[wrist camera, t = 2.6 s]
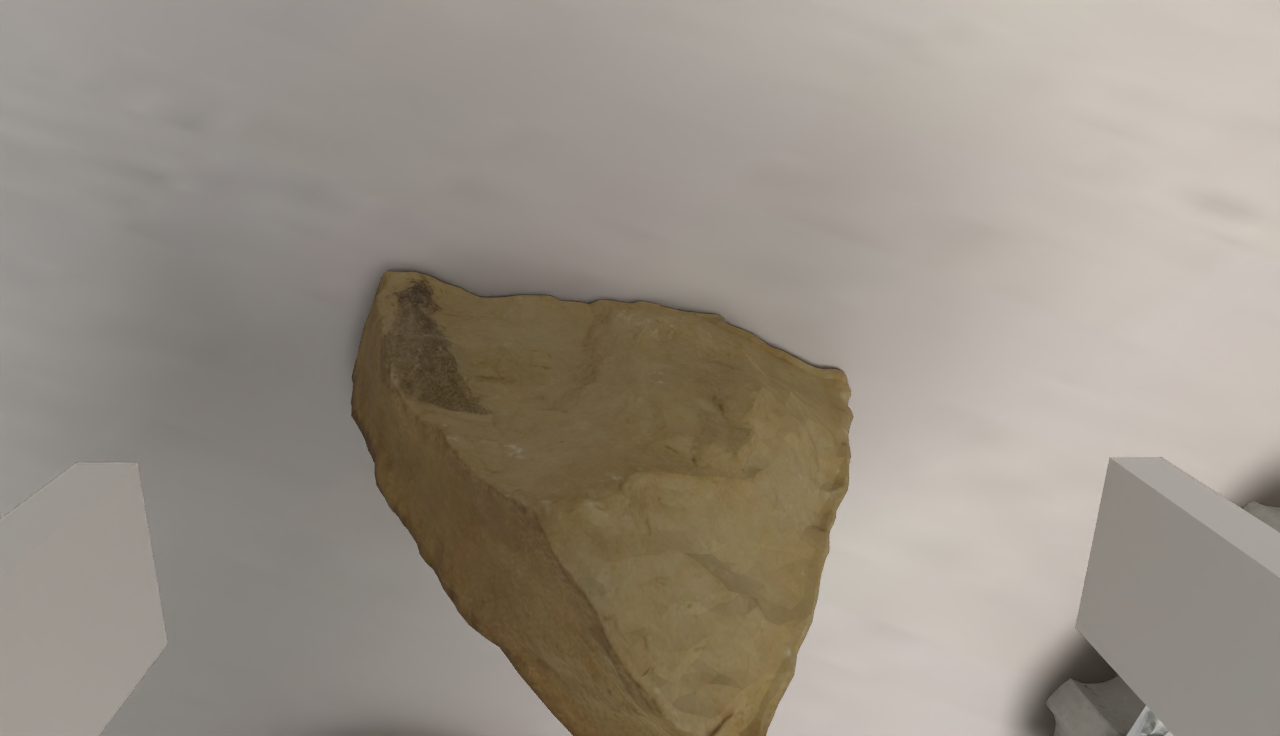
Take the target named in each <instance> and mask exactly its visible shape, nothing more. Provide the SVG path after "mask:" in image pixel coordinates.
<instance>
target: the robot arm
mask: <svg viewBox="0 0 1280 736" xmlns="http://www.w3.org/2000/svg"><path fill="white" fill-rule="evenodd" d="M1075 628H1076V629H1077V630H1078V631H1079V632H1080V633H1081V634H1082V635H1083V636H1084V638H1085V639H1086V640H1087V641H1088V642H1089V643H1090V644H1091V645H1092V646H1093V647H1094V649H1095V650H1096V651H1097V652H1098V653H1099V654H1100V655H1101V656H1102V657H1103V658H1104V660H1105V661H1106V662H1107V663H1108V664H1109V665H1110V666H1111V667H1112V668H1113V669H1114V671H1115V672H1116V673H1117V674H1118V675H1119V676H1120V677H1121V678H1122V679H1123V680H1124V682H1125V683H1126V684H1127V685H1128V686H1129V687H1130V688H1131V689H1132V690H1133V691H1134V693H1135V694H1136V695H1137V696H1138V697H1139V698H1140V699H1141V700H1142V701H1143V702H1144V704H1145V705H1146V706H1147V707H1148V708H1149V709H1150V710H1151V711H1152V712H1153V713H1154V714H1155V716H1156V717H1157V718H1158V719H1159V720H1160V721H1161V722H1162V723H1163V724H1164V725H1165V727H1166V728H1167V729H1168V730H1169V731H1170V732H1171V733H1172V734H1173V735H1174V736H1280V533H1279V532H1278V531H1276V530H1275V529H1273V528H1272V527H1270V526H1269V525H1267V524H1265V523H1264V522H1262V521H1261V520H1259V519H1258V518H1256V517H1254V516H1253V515H1251V514H1250V513H1248V512H1247V511H1245V510H1244V509H1242V508H1240V507H1239V506H1237V505H1236V504H1234V503H1233V502H1231V501H1229V500H1228V499H1226V498H1225V497H1223V496H1222V495H1220V494H1219V493H1217V492H1215V491H1214V490H1212V489H1211V488H1209V487H1208V486H1206V485H1205V484H1203V483H1201V482H1200V481H1198V480H1197V479H1195V478H1194V477H1192V476H1190V475H1189V474H1187V473H1186V472H1184V471H1183V470H1181V469H1180V468H1178V467H1176V466H1175V465H1173V464H1172V463H1170V462H1169V461H1167V460H1165V459H1164V458H1162V457H1126V458H1109V463H1108V468H1107V473H1106V478H1105V483H1104V488H1103V493H1102V498H1101V503H1100V508H1099V513H1098V518H1097V523H1096V528H1095V532H1094V537H1093V542H1092V547H1091V552H1090V557H1089V562H1088V567H1087V572H1086V577H1085V582H1084V587H1083V592H1082V597H1081V602H1080V607H1079V612H1078V617H1077V622H1076V627H1075ZM167 644H168V642H167V636H166V630H165V624H164V618H163V612H162V606H161V600H160V594H159V588H158V582H157V576H156V570H155V564H154V558H153V552H152V546H151V540H150V534H149V528H148V522H147V516H146V510H145V504H144V498H143V492H142V486H141V480H140V474H139V468H138V462H76V463H75V464H74V465H72V466H71V467H70V468H68V469H67V470H66V471H64V472H63V473H61V474H60V475H59V476H57V477H56V478H55V479H53V480H52V481H51V482H49V483H48V484H47V485H45V486H44V487H43V488H41V489H40V490H39V491H37V492H36V493H35V494H33V495H32V496H30V497H29V498H28V499H26V500H25V501H24V502H22V503H21V504H20V505H18V506H17V507H16V508H14V509H13V510H12V511H10V512H9V513H8V514H6V515H5V516H4V517H2V518H1V519H0V736H99V735H100V734H101V733H102V731H103V730H104V729H105V727H106V726H107V725H108V723H109V722H110V721H111V719H112V718H113V717H114V715H115V714H116V713H117V711H118V710H119V709H120V707H121V706H122V705H123V703H124V702H125V701H126V699H127V698H128V696H129V695H130V694H131V692H132V691H133V690H134V688H135V687H136V686H137V684H138V683H139V682H140V680H141V679H142V678H143V676H144V675H145V674H146V672H147V671H148V670H149V668H150V667H151V666H152V664H153V663H154V662H155V660H156V659H157V658H158V656H159V655H160V654H161V652H162V651H163V649H164V648H165V647H166V645H167Z"/></svg>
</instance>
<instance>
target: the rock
mask: <svg viewBox="0 0 1280 736" xmlns="http://www.w3.org/2000/svg"><path fill="white" fill-rule="evenodd" d="M352 381H353V392H352V399H351V405H352V414H351V416H352V417H353V419H354V420H355V422H356V424H357V425H358V427H359V429H360V431H361V432H362V434H363V436H364V438H365V441H366V444H367V448H368V451H369V453H370V454H371V456H372V459H373V461H374V463H375V478H376V485H377V486H378V488H379V490H380V492H381V493H382V495H383V496H384V497H385V499H386V501H387V503H388V505H389V507H390V508H391V510H392V511H393V512H394V513H395V514H396V515H397V516H398V517H399V518H400V520H401V522H402V523H403V525H404V526H405V527H406V528H407V529H408V530H409V532H410V534H411V535H412V537H413V538H414V540H415V541H416V543H417V545H418V549H419V554H420V555H421V556H422V558H423V559H424V560H425V562H426V563H427V564H428V565H429V566H430V567H431V568H433V570H434V571H435V573H436V575H437V576H438V578H439V581H440V583H441V585H442V587H443V589H444V590H445V592H446V593H447V595H448V596H449V597H450V599H451V600H452V602H453V603H454V605H455V606H456V608H457V610H458V612H459V613H460V614H461V616H462V617H463V618H464V619H465V621H466V622H467V623H468V624H469V625H470V626H471V627H472V628H473V629H475V630H476V631H477V632H479V633H480V634H481V635H482V636H484V637H485V638H486V639H488V640H489V641H491V642H492V643H494V644H496V645H497V646H499V647H500V649H501V650H502V651H503V652H504V654H505V655H506V656H507V658H508V659H509V660H510V662H511V663H512V665H513V666H514V668H515V669H516V670H517V672H518V673H519V674H520V676H521V677H522V678H523V679H524V680H525V682H526V683H527V684H528V685H529V686H530V687H531V689H532V690H533V691H534V692H535V693H536V695H537V696H538V697H539V698H540V699H541V701H542V702H543V703H544V704H545V705H546V706H547V708H548V709H549V710H550V711H551V712H552V714H553V715H554V716H555V717H556V718H557V719H558V720H559V721H560V722H561V723H562V724H563V725H564V726H565V727H566V728H567V729H568V731H569V732H570V733H571V734H572V735H573V736H766V733H767V730H768V727H769V725H770V723H771V721H772V719H773V716H774V714H775V711H776V708H777V706H778V704H779V702H780V700H781V698H782V697H783V695H784V693H785V691H786V689H787V687H788V685H789V683H790V681H791V680H792V678H793V676H794V672H795V666H796V658H797V653H798V651H799V648H800V646H801V644H802V642H803V640H804V639H805V636H806V634H807V632H808V630H809V628H810V625H811V623H812V620H813V614H814V609H815V606H816V603H817V598H818V592H819V585H820V578H821V573H822V570H823V567H824V563H825V559H826V557H827V555H828V553H829V533H830V530H831V528H832V526H833V524H834V521H835V518H836V511H837V509H838V507H839V505H840V503H841V501H842V499H843V498H844V496H845V494H846V492H847V490H848V484H849V462H850V458H851V454H850V447H849V439H848V433H849V428H850V424H851V422H852V419H853V414H852V411H851V409H850V408H849V407H848V400H849V398H850V396H851V389H850V387H849V384H848V381H847V378H846V375H845V373H844V372H843V371H841V370H838V369H821V368H816V367H813V366H811V365H809V364H807V363H805V362H804V361H802V360H800V359H798V358H796V357H794V356H792V355H790V354H788V353H786V352H784V351H782V350H779V349H776V348H772V347H771V346H769V345H768V344H766V343H765V342H764V341H762V340H761V339H759V338H758V337H756V336H755V335H754V334H752V333H750V332H747V331H745V330H742V329H740V328H737V327H734V326H731V325H729V324H726V322H725V321H724V318H723V317H722V316H720V315H717V314H702V313H696V312H685V311H680V310H676V309H672V308H669V307H664V306H660V305H658V304H655V303H649V302H643V301H638V302H635V303H624V302H618V301H614V300H597V301H595V302H593V303H590V304H587V303H582V302H575V301H560V300H558V299H556V298H554V297H553V296H551V295H516V296H509V297H492V298H485V297H478V296H476V295H474V294H471V293H469V292H467V291H465V290H463V289H461V288H459V287H456V286H452V285H449V284H446V283H443V282H441V281H439V280H437V279H435V278H433V277H431V276H429V275H425V274H421V273H418V272H407V273H406V272H395V271H388V272H386V273H385V274H384V275H383V276H382V278H381V281H380V284H379V287H378V290H377V293H376V296H375V299H374V302H373V305H372V308H371V311H370V314H369V316H368V318H367V321H366V323H365V326H364V329H363V333H362V337H361V341H360V346H359V351H358V355H357V359H356V361H355V365H354V369H353V374H352Z"/></svg>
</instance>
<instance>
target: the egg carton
mask: <svg viewBox="0 0 1280 736" xmlns="http://www.w3.org/2000/svg"><path fill="white" fill-rule="evenodd" d="M1243 509H1244V510H1245V511H1247V512H1248V513H1250V514H1251V515H1253V516H1254V517H1256V518H1258V519H1259V520H1261V521H1262V522H1264V523H1265V524H1267V525H1269V526H1270V527H1272V528H1273V529H1275V530H1276V531H1278V532H1279V533H1280V507H1269V506H1265V505H1262V504H1259V503H1257V502H1256V501H1251V502H1249V503H1248V504H1247V505H1246V506H1245V507H1244V508H1243ZM1046 706H1047V707H1048V708H1049V709H1050V710H1051V711H1052V713H1053V715H1054V718H1055V724H1056V727H1055V731H1054V735H1053V736H1174V735H1173V734H1172V733H1171V732H1170V731H1169V730H1168V729H1167V728H1166V727H1165V725H1164V724H1163V723H1162V722H1161V721H1160V720H1159V719H1158V718H1157V717H1156V716H1155V714H1154V713H1153V712H1152V711H1151V710H1150V709H1149V708H1148V707H1147V706H1146V705H1145V704H1144V702H1143V701H1142V700H1141V699H1140V698H1139V697H1138V696H1137V695H1136V694H1135V693H1134V691H1133V690H1132V689H1131V688H1130V687H1129V686H1128V685H1127V684H1126V683H1125V682H1124V680H1123V679H1122V678H1121V677H1120V676H1119V675H1118V676H1117V677H1115V678H1113V679H1110V680H1108V681H1105V682H1101V683H1096V684H1089V683H1081V682H1078V681H1076V680H1073V679H1071V678H1070V679H1068V680H1067V681H1066V682H1064V683H1063V684H1062V685H1061V686H1060V687H1059V688H1058V689H1057V690H1056V691H1055V692H1054V693H1053V694H1052V695H1051V696H1050V697H1049V698H1048V699H1047V701H1046Z"/></svg>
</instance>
